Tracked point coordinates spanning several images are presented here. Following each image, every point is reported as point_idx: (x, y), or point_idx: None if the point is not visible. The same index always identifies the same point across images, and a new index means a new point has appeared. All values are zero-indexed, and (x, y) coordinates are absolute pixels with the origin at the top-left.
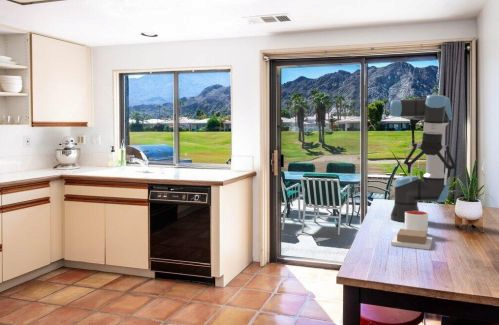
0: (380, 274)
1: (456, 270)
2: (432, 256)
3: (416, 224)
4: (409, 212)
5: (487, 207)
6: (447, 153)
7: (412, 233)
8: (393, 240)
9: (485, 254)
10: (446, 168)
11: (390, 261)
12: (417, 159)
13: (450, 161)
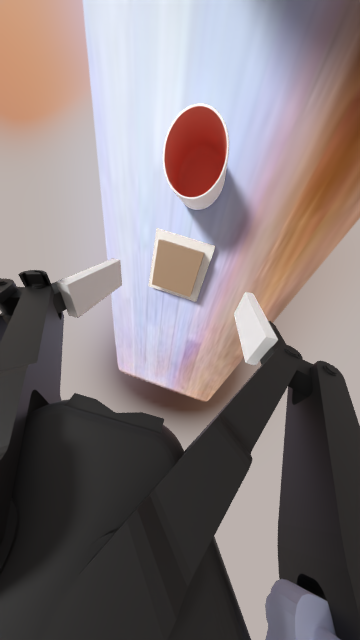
0: (142, 368)
1: (201, 363)
2: (191, 327)
3: (192, 205)
4: (179, 120)
5: None
6: (286, 526)
7: (174, 276)
8: (151, 277)
9: None
10: (270, 338)
11: (149, 342)
12: (61, 355)
13: (287, 424)
